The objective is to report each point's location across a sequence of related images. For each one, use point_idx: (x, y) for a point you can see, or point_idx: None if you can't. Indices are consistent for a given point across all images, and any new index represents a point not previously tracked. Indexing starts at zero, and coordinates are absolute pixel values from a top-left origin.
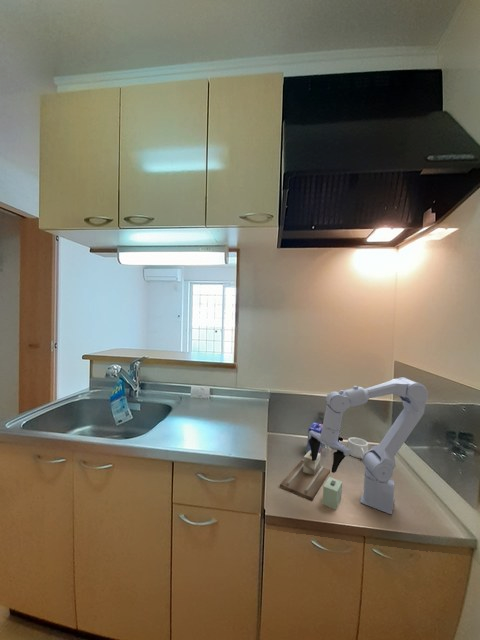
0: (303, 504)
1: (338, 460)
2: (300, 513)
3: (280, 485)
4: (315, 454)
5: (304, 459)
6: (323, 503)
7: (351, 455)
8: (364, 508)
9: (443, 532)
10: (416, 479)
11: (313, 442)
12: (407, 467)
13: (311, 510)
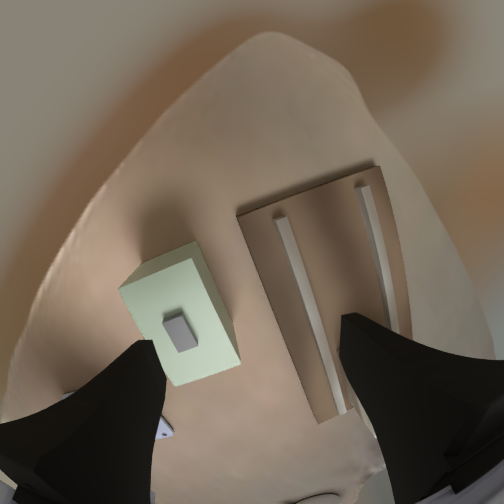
0: (239, 159)
1: (34, 415)
2: (207, 105)
3: (375, 166)
4: (364, 368)
5: None
6: (191, 242)
7: (317, 496)
8: (106, 362)
9: (10, 413)
10: None
11: (485, 411)
12: None
13: (193, 160)
